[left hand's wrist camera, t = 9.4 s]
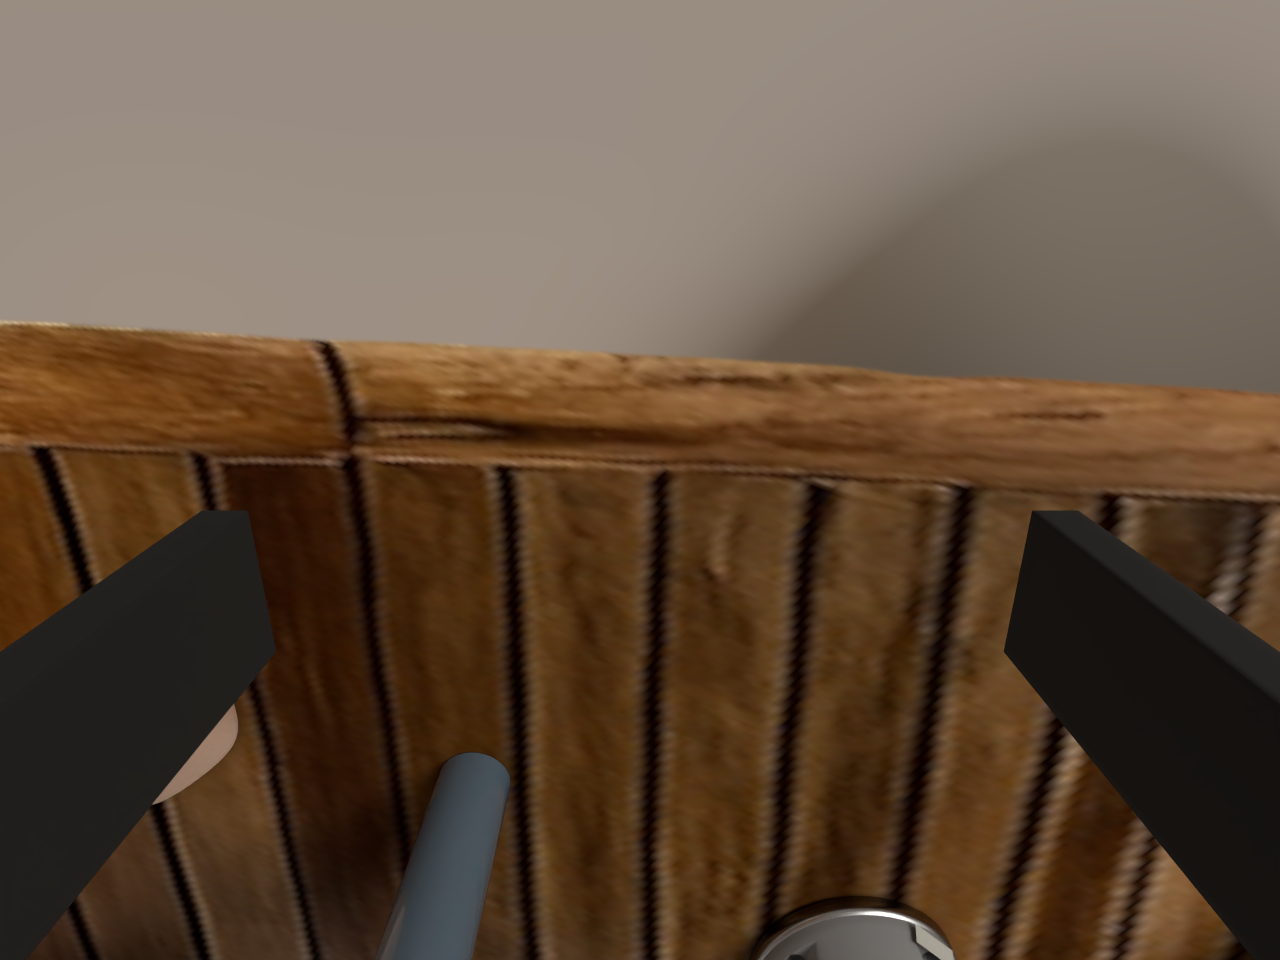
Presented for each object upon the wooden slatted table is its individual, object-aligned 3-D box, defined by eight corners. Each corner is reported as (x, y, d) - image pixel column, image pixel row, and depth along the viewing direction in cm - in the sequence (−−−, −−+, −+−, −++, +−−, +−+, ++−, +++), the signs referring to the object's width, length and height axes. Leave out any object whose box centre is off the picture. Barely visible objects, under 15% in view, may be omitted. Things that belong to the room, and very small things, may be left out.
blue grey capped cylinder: (521, 767, 48) (467, 1030, 33) (494, 817, 50) (429, 1091, 35) (454, 741, 48) (366, 998, 32) (428, 793, 49) (332, 1062, 34)
